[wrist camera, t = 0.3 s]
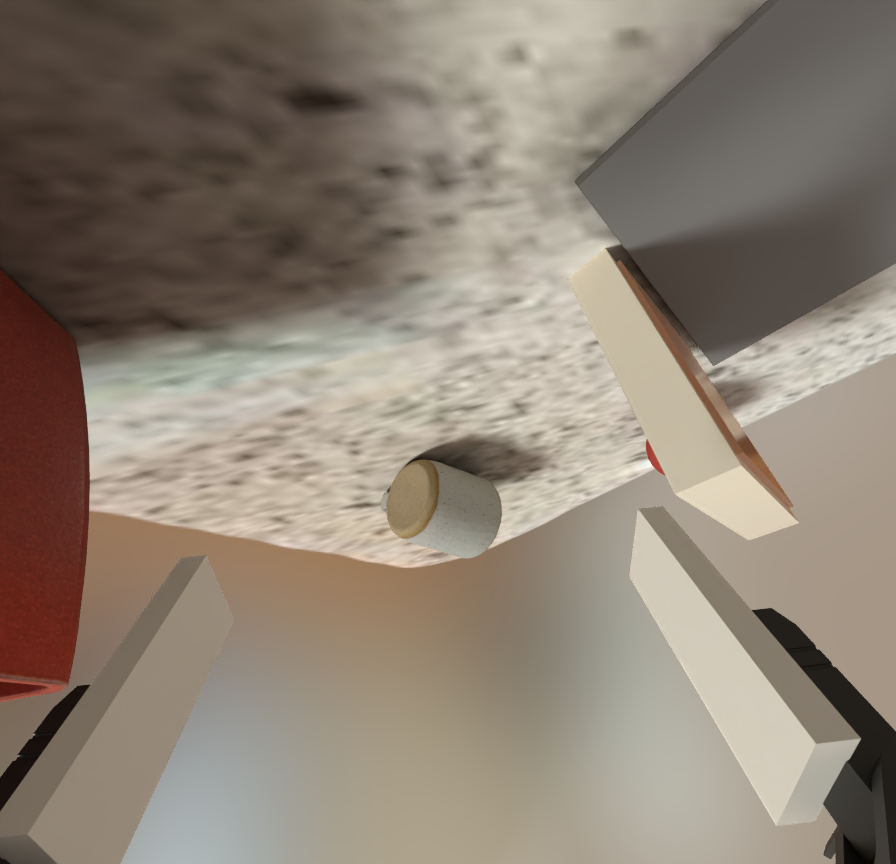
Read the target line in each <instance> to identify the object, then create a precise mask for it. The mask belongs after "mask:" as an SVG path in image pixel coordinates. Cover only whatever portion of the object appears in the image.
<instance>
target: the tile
mask: <svg viewBox="0 0 896 864" xmlns="http://www.w3.org/2000/svg"><path fill="white" fill-rule="evenodd" d="M567 280H568V282H569V284H570V286H571V288H572V290H573V292H574V294H575V296H576V298H577V300H578V302H579V304H580V306H581V308H582V310H583V312H584V314H585V316H586V318H587V320H588V322H589V324H590V326H591V328H592V330H593V332H594V334H595V336H596V338H597V340H598V342H599V344H600V346H601V348H602V350H603V352H604V354H605V356H606V358H607V360H608V362H609V364H610V366H611V368H612V370H613V372H614V374H615V376H616V378H617V380H618V382H619V384H620V386H621V388H622V390H623V392H624V394H625V396H626V398H627V400H628V402H629V404H630V406H631V408H632V410H633V412H634V414H635V416H636V418H637V420H638V422H639V424H640V426H641V428H642V430H643V432H644V434H645V436H646V438H647V440H648V442H649V444H650V446H651V448H652V450H653V452H654V454H655V456H656V458H657V460H658V462H659V464H660V466H661V468H662V470H663V472H664V474H665V476H666V478H667V480H668V482H669V483H670V486H671V487H672V489H673V491H674V494H675V495H677V496H678V497H680V498H682V499H683V500H685V501H686V502H688V503H690V504H691V505H693V506H695V507H696V508H698V509H699V510H701V511H703V512H704V513H706V514H707V515H709V516H711V517H712V518H714V519H715V520H717V521H719V522H720V523H722V524H723V525H725V526H726V527H728V528H730V529H732V530H733V531H735V532H736V533H738V534H739V535H741V536H743V537H744V538H746V539H747V540H751V539H754V538H757V537H760V536H763V535H766V534H768V533H771V532H774V531H777V530H780V529H783V528H786V527H789V526H792V525H794V524H797V523H798V521H797V519H796V518H795V516H794V515H793V513H792V511H791V510H790V507H792V506H793V504H792V503H791V501H790V500H789V498H788V497H787V495H786V494H785V493H784V491H783V489H782V488H781V486H780V485H779V483H778V482H777V480H776V479H775V477H774V476H773V474H772V473H771V471H770V470H769V468H768V467H767V465H766V464H765V462H764V461H763V459H762V458H761V456H760V455H759V453H758V452H757V450H756V449H755V447H754V446H753V444H752V443H751V441H750V440H749V438H748V437H747V435H746V434H745V432H744V431H743V429H742V428H741V426H740V425H739V423H738V422H737V420H736V419H735V417H734V416H733V414H732V413H731V411H730V410H729V408H728V407H727V405H726V404H725V402H724V401H723V399H722V398H721V396H720V395H719V393H718V392H717V390H716V389H715V387H714V386H713V384H712V383H711V381H710V380H709V378H708V377H707V375H706V374H705V372H704V371H703V369H702V368H701V366H700V365H699V363H698V362H697V360H696V359H695V357H694V356H693V354H692V353H691V351H690V350H689V348H688V346H687V345H686V343H685V342H684V340H683V339H682V338H681V337H680V335H679V334H678V333H677V332H676V330H675V329H674V328H673V326H672V325H671V324H670V323H669V321H668V320H667V319H666V318H665V316H664V315H663V314H662V312H661V311H660V310H659V309H658V307H657V306H656V305H655V304H654V302H653V301H652V300H651V299H650V297H649V296H648V295H647V293H646V292H645V291H644V290H643V288H642V287H641V286H640V285H639V283H638V282H637V281H636V279H635V278H634V277H633V276H632V274H631V273H630V272H629V271H628V269H627V268H626V267H625V265H624V264H623V263H622V262H621V260H619V261H618V262H616V261H615V260H614V258H613V257H612V256H611V255H610V253H609V252H608V251H607V250H606V248H605V249H604V250H603V251H601V252H600V253H599V254H598V255H596V256H595V257H594V258H593V259H591V260H590V261H589V262H588V263H586V264H585V265H584V266H583V267H582V268H580V269H579V270H578V271H577V272H575V273H574V274H573V275H572V276H570V277H569V278H568V279H567Z"/></svg>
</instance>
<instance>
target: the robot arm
mask: <svg viewBox="0 0 896 864" xmlns="http://www.w3.org/2000/svg"><path fill="white" fill-rule="evenodd" d="M630 579H631V580H632V582H633V584H634V585H635V587H636V589H637V590H638V592H639V594H640V595H641V597H642V599H643V600H644V602H645V604H646V606H647V607H648V609H649V611H650V612H651V614H652V616H653V618H654V619H655V621H656V623H657V624H658V626H659V628H660V629H661V631H662V633H663V635H664V636H665V638H666V640H667V641H668V643H669V645H670V646H671V648H672V650H673V652H674V653H675V655H676V657H677V658H678V660H679V662H680V663H681V665H682V667H683V669H684V670H685V672H686V674H687V675H688V677H689V679H690V680H691V682H692V684H693V685H694V687H695V689H696V691H697V692H698V694H699V695H700V697H701V699H702V701H703V702H704V704H705V706H706V708H707V709H708V711H709V712H710V714H711V716H712V718H713V719H714V721H715V723H716V724H717V726H718V728H719V730H720V731H721V733H722V735H723V736H724V738H725V739H726V741H727V743H728V745H729V746H730V748H731V750H732V751H733V753H734V755H735V757H736V758H737V760H738V762H739V764H740V765H741V767H742V769H743V770H744V772H745V774H746V775H747V777H748V779H749V780H750V782H751V784H752V786H753V787H754V789H755V791H756V792H757V794H758V796H759V797H760V799H761V801H762V803H763V804H764V806H765V808H766V809H767V811H768V813H769V814H770V816H771V818H772V820H773V821H774V823H775V825H776V826H779V825H789V824H798V823H806V822H814V821H815V820H816V819H817V817H818V815H819V813H820V811H821V810H822V808H823V806H825V807H826V809H827V810H828V812H829V813H830V815H831V816H832V817H833V819H834V820H835V822H836V823H837V825H838V826H837V828H836V829H835V831H834V833H833V834H832V836H831V838H830V839H829V841H828V843H827V845H826V848H825V851H824V856H826V857H828V858H829V859H831V858H832V857H833V855H834V854H835V852H836V864H896V731H895V730H894V729H893V728H892V727H891V726H890V725H889V724H888V723H887V722H886V721H885V719H884V718H883V717H882V716H881V715H880V714H879V713H878V712H877V711H876V710H875V709H874V708H873V707H872V706H871V704H870V703H869V702H868V701H867V700H866V699H865V698H864V697H863V696H862V695H861V694H860V693H859V692H858V691H857V689H855V687H854V686H853V685H852V684H851V683H850V682H849V681H848V680H847V679H846V678H845V677H844V676H843V674H842V673H841V672H840V671H839V670H838V669H837V668H836V667H833V666H832V663H831V662H830V661H829V659H828V658H827V657H825V655H824V654H823V653H822V652H821V651H820V650H817V649H816V647H815V645H814V643H813V642H812V641H811V640H810V639H809V638H808V637H807V636H806V635H805V634H804V633H803V632H802V631H801V629H800V628H799V627H798V626H797V625H796V624H794V623H793V622H791V621H789V620H788V619H787V618H785V617H784V616H782V615H781V614H779V613H778V612H776V611H775V610H773V609H772V608H768V609H759V610H751V609H750V608H749V607H748V606H747V604H746V603H745V602H744V601H743V600H742V599H741V597H740V596H739V595H738V594H737V593H736V591H735V590H734V589H733V588H732V587H731V586H730V585H729V583H728V582H727V581H726V580H725V579H724V577H723V576H722V575H721V574H720V573H719V572H718V571H717V569H716V568H715V567H714V566H713V564H712V563H711V562H710V561H709V560H708V559H707V557H706V556H705V555H704V554H703V553H702V552H701V550H700V549H699V548H698V547H697V546H696V545H695V543H694V542H693V541H692V540H691V539H690V538H689V536H688V535H687V534H686V533H685V532H684V530H683V529H682V528H681V527H680V526H679V525H678V523H677V522H676V521H675V520H674V519H673V518H672V517H671V515H670V514H669V513H668V512H667V511H666V509H665V508H664V507H663V506H661V507H653V508H642V509H638V513H637V522H636V529H635V537H634V545H633V553H632V562H631V569H630ZM233 621H234V618H233V616H232V613H231V611H230V609H229V606H228V604H227V602H226V600H225V597H224V595H223V592H222V590H221V588H220V585H219V583H218V581H217V578H216V576H215V574H214V571H213V569H212V567H211V565H210V562H209V560H208V557H207V556H206V555H204V556H195V557H187V558H186V557H185V558H181V559H180V560H179V562H178V563H177V564H176V566H175V567H174V569H173V570H172V571H171V573H170V574H169V576H168V577H167V579H166V580H165V582H164V583H163V584H162V585H161V587H160V588H159V590H158V591H157V592H156V594H155V595H154V597H153V598H152V599H151V601H150V602H149V604H148V605H147V607H146V608H145V609H144V611H143V612H142V613H141V615H140V616H139V618H138V619H137V621H136V622H135V623H134V625H133V626H132V627H131V629H130V630H129V632H128V633H127V635H126V636H125V637H124V639H123V640H122V642H121V643H120V644H119V646H118V647H117V649H116V650H115V651H114V653H113V654H112V655H111V657H110V658H109V660H108V661H107V662H106V664H105V665H104V667H103V668H102V670H101V671H100V672H99V674H98V675H97V677H96V678H95V679H94V681H93V682H92V684H91V685H82V686H77V687H76V688H75V689H74V690H73V691H72V692H70V693H69V694H68V695H67V696H66V697H65V698H64V699H63V700H62V701H60V702H59V703H58V704H57V705H56V706H55V707H54V708H53V709H52V710H51V711H50V713H49V714H48V715H47V717H46V718H45V719H44V721H43V722H42V723H41V725H40V726H39V727H38V728H37V730H36V731H35V732H34V734H33V738H32V739H30V740H29V741H28V742H27V743H26V744H25V746H24V747H23V748H22V750H21V751H20V752H19V754H18V755H17V759H16V761H13V762H12V763H11V764H10V766H9V767H8V768H7V769H6V771H5V772H4V773H3V775H2V776H1V777H0V864H120V863H121V861H122V859H123V857H124V854H125V852H126V850H127V848H128V846H129V844H130V842H131V839H132V837H133V835H134V833H135V831H136V829H137V827H138V824H139V822H140V820H141V818H142V816H143V814H144V812H145V810H146V807H147V805H148V803H149V801H150V799H151V797H152V795H153V793H154V790H155V788H156V786H157V784H158V782H159V780H160V777H161V775H162V773H163V771H164V769H165V767H166V765H167V763H168V760H169V758H170V756H171V754H172V752H173V750H174V748H175V746H176V743H177V741H178V739H179V737H180V735H181V732H182V731H183V728H184V726H185V724H186V722H187V720H188V718H189V716H190V713H191V711H192V709H193V707H194V705H195V703H196V701H197V698H198V696H199V694H200V692H201V690H202V688H203V686H204V683H205V681H206V679H207V677H208V675H209V673H210V671H211V669H212V666H213V664H214V662H215V660H216V658H217V655H218V654H219V651H220V649H221V647H222V645H223V643H224V641H225V639H226V636H227V634H228V632H229V630H230V628H231V626H232V624H233Z"/></svg>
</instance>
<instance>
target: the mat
mask: <svg viewBox="0 0 896 864" xmlns="http://www.w3.org/2000/svg"><path fill="white" fill-rule="evenodd" d="M575 182H576V184H577V186H578V187H579V188H580V190H581V191H582V192H583V194H584V195H585V196H586V198H587V199H588V200H589V202H590V203H591V204H592V206H593V207H594V208H595V210H596V211H597V212H598V214H599V215H600V216H601V217H602V219H603V220H604V221H605V223H606V224H607V225H608V227H609V228H610V229H611V231H612V232H613V233H614V235H615V236H616V237H617V239H618V240H619V241H620V243H621V244H622V245H623V247H624V248H625V249H626V251H627V252H628V253H629V255H630V256H631V257H632V259H633V260H634V261H635V263H636V264H637V265H638V267H639V268H640V269H641V271H642V272H643V273H644V275H645V276H646V277H647V279H648V280H649V281H650V283H651V284H652V285H653V287H654V288H655V289H656V290H657V292H658V293H659V294H660V296H661V297H662V298H663V300H664V301H665V302H666V304H667V305H668V306H669V308H670V309H671V310H672V312H673V313H674V314H675V316H676V317H677V318H678V320H679V321H680V322H681V324H682V325H683V326H684V328H685V329H686V330H687V332H688V333H689V334H690V336H691V337H692V338H693V340H694V341H695V342H696V344H697V345H698V346H699V348H700V349H701V350H702V352H703V353H704V354H705V356H706V357H707V358H708V359H709V361H710V362H711V363H712V365H713V366H714V365H716V364H718V363H720V362H722V361H723V360H725V359H727V358H729V357H730V356H732V355H734V354H736V353H738V352H739V351H741V350H743V349H745V348H746V347H748V346H750V345H752V344H753V343H755V342H757V341H759V340H761V339H762V338H764V337H766V336H768V335H769V334H771V333H773V332H775V331H776V330H778V329H780V328H782V327H784V326H785V325H787V324H789V323H791V322H792V321H794V320H796V319H798V318H799V317H801V316H803V315H805V314H807V313H808V312H810V311H812V310H814V309H815V308H817V307H819V306H821V305H823V304H824V303H826V302H828V301H830V300H831V299H833V298H835V297H837V296H838V295H840V294H842V293H844V292H846V291H847V290H849V289H851V288H853V287H854V286H856V285H858V284H860V283H861V282H863V281H865V280H867V279H869V278H870V277H872V276H874V275H876V274H877V273H879V272H881V271H883V270H884V269H886V268H888V267H890V266H892V265H893V264H895V263H896V0H768V1H767V2H766V3H765V4H764V5H763V6H762V7H761V8H759V9H758V10H757V11H756V12H755V13H754V14H753V15H752V16H751V17H750V18H749V19H748V20H747V21H746V22H744V23H743V24H742V25H741V26H740V27H739V28H738V29H737V30H736V31H735V32H734V33H733V34H732V35H731V36H730V37H728V38H727V39H726V40H725V41H724V42H723V43H722V44H721V45H720V46H719V47H718V48H717V49H716V50H715V51H713V52H712V53H711V54H710V55H709V56H708V57H707V58H706V59H705V60H704V61H703V62H702V63H701V64H700V65H699V66H697V67H696V68H695V69H694V70H693V71H692V72H691V73H690V74H689V75H688V76H687V77H686V78H685V79H684V80H682V81H681V82H680V83H679V84H678V85H677V86H676V87H675V88H674V89H673V90H672V91H671V92H670V93H669V94H668V95H666V96H665V97H664V98H663V99H662V100H661V101H660V102H659V103H658V104H657V105H656V106H655V107H654V108H653V109H651V110H650V111H649V112H648V113H647V114H646V115H645V116H644V117H643V118H642V119H641V120H640V121H639V122H638V123H637V124H635V125H634V126H633V127H632V128H631V129H630V130H629V131H628V132H627V133H626V134H625V135H624V136H623V137H622V138H621V139H619V140H618V141H617V142H616V143H615V144H614V145H613V146H612V147H611V148H610V149H609V150H608V151H607V152H606V153H604V154H603V155H602V156H601V157H600V158H599V159H598V160H597V161H596V162H595V163H594V164H593V165H592V166H591V167H590V168H588V169H587V170H586V171H585V172H584V173H583V174H582V175H581V176H580V177H579V178H578V179H577V180H576V181H575Z"/></svg>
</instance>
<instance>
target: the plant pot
mask: <svg viewBox="0 0 896 864" xmlns="http://www.w3.org/2000/svg"><path fill="white" fill-rule="evenodd" d="M89 489H90V472H89V442H88V427H87V413H86V404H85V396H84V387H83V380H82V374H81V368H80V361H79V355H78V351H77V346H76V343H75V340H74V339H73V337H72V336H71V335H70V334H69V333H68V332H67V331H66V330H64V329H63V328H62V327H61V326H60V325H59V324H58V323H57V322H56V321H55V320H54V319H53V318H52V317H51V316H50V315H48V314H47V313H46V312H45V311H44V310H43V309H42V308H41V307H40V306H39V305H38V304H37V303H36V302H35V301H34V300H33V299H31V298H30V297H29V296H28V295H27V294H26V293H25V292H24V291H23V290H22V289H21V288H20V287H19V286H18V285H17V284H15V283H14V282H13V281H12V280H11V279H10V278H9V277H8V276H7V275H6V274H5V273H4V272H3V271H2V270H1V269H0V702H4V701H9V700H14V699H20V698H25V697H30V696H36V695H43V694H48V693H54V692H57V691H60V690H63V689H65V688H66V687H67V686H68V684H69V679H70V673H71V668H72V664H73V659H74V654H75V647H76V641H77V634H78V627H79V618H80V609H81V600H82V592H83V585H84V576H85V565H86V554H87V540H88V523H89V522H88V521H89Z"/></svg>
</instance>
